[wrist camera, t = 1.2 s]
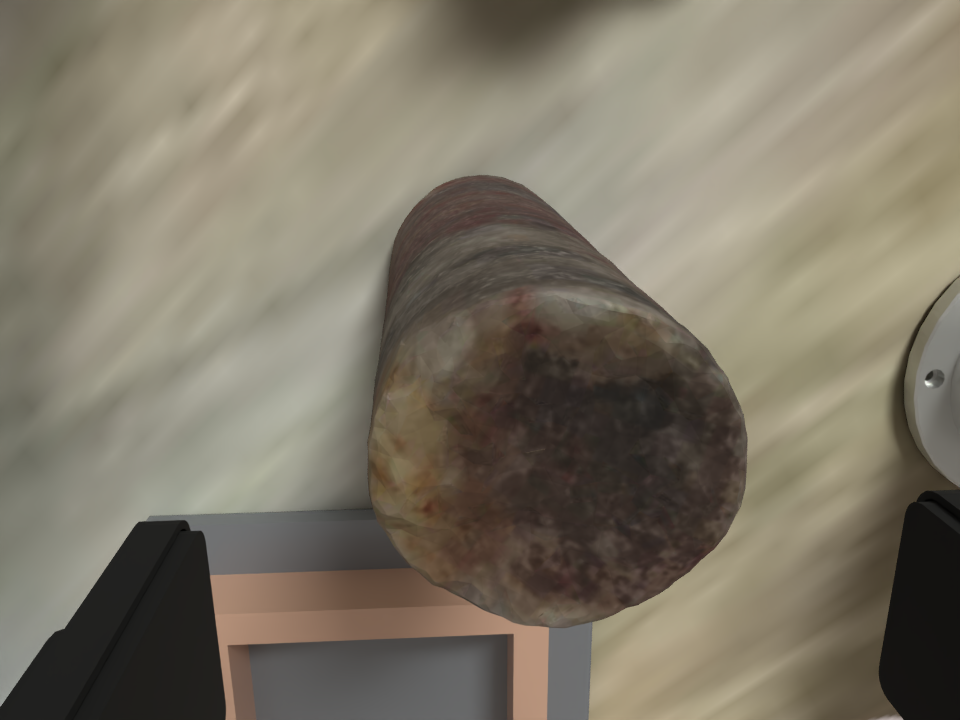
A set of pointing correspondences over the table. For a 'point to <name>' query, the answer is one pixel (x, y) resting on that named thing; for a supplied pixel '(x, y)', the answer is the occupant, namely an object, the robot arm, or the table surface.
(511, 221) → the candle
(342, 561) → the tray
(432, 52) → the table surface
